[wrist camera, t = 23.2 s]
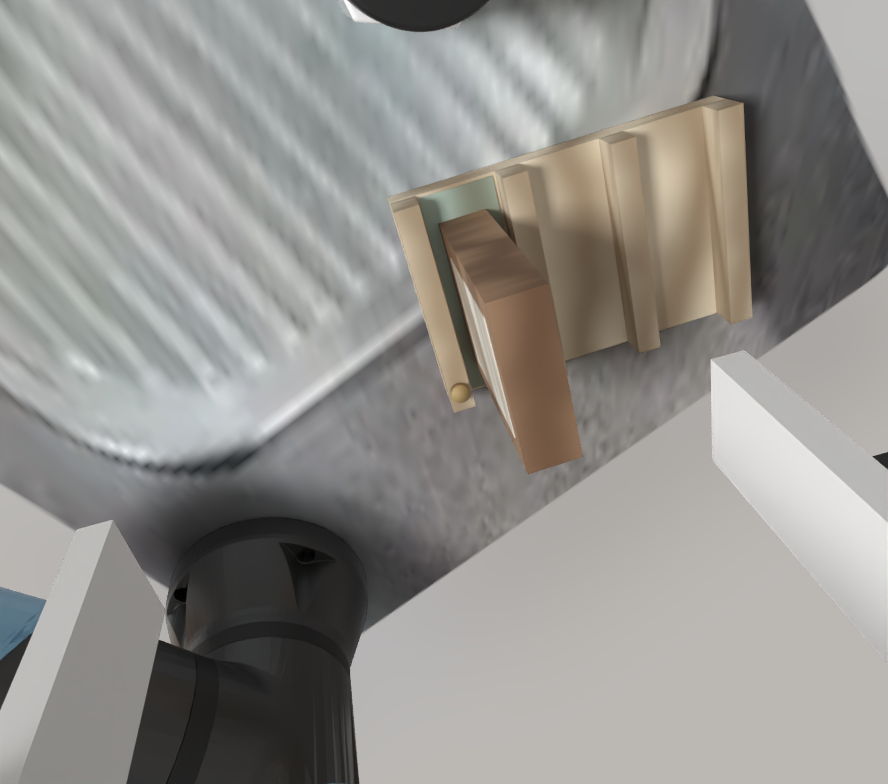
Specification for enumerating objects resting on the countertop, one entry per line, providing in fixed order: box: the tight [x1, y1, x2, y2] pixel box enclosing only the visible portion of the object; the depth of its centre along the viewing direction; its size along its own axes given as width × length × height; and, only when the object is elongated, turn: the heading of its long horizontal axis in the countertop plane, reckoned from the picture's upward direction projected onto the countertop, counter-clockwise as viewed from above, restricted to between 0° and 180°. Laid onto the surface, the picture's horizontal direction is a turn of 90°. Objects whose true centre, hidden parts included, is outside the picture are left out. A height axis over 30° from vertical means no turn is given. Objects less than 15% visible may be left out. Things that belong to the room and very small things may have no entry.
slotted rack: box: [388, 96, 752, 413], centre depth 46 cm, size 21×14×4 cm, turn 105°
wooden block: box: [438, 209, 583, 474], centre depth 41 cm, size 3×10×13 cm, turn 15°
